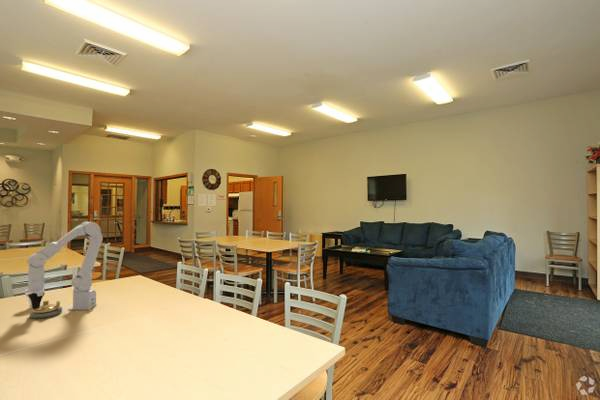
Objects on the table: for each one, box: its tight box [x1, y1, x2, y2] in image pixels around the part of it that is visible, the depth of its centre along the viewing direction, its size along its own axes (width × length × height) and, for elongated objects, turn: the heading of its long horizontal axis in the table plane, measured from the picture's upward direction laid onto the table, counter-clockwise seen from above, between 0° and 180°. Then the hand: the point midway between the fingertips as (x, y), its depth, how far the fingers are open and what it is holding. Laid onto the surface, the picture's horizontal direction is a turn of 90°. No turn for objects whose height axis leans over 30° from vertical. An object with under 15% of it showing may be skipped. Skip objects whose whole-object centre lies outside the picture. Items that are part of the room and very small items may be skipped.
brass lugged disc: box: [32, 300, 61, 314], centre depth 147 cm, size 10×10×3 cm
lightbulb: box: [24, 288, 33, 309], centre depth 156 cm, size 6×6×11 cm
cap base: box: [29, 306, 63, 320], centre depth 147 cm, size 12×12×2 cm
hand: (35, 308), depth 143 cm, fingers closed, pressing on brass lugged disc
